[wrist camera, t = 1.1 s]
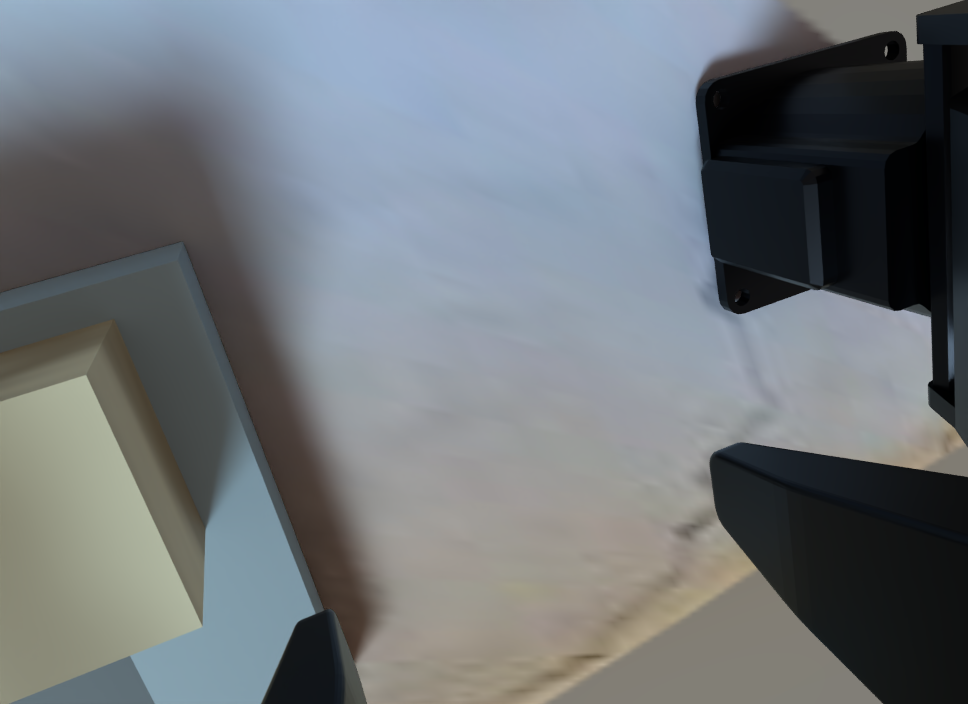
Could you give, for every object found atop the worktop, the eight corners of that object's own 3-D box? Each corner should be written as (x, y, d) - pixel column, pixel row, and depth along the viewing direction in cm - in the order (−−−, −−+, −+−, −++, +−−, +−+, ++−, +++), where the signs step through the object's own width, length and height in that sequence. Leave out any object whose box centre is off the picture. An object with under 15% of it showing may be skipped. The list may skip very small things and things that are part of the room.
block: (114, 318, 15) (85, 375, 12) (205, 529, 17) (202, 626, 13) (-172, 404, 14) (-289, 491, 11) (-41, 619, 16) (-107, 749, 12)
